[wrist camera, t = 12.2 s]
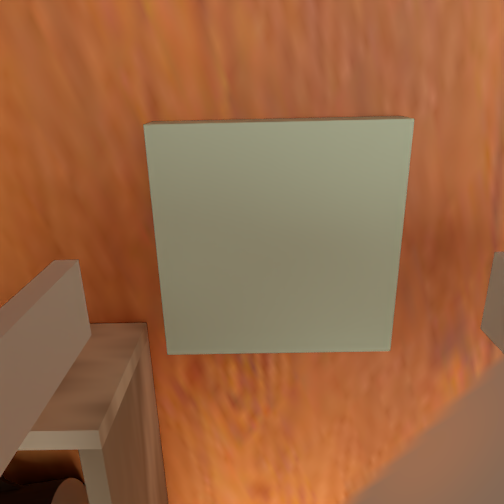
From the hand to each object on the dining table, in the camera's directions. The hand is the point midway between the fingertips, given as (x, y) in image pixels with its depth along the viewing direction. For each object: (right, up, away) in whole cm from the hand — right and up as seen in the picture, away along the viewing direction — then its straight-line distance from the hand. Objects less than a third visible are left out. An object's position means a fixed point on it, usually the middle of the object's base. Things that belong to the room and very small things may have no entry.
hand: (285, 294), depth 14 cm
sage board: (0, +2, +5) cm, 6 cm away
